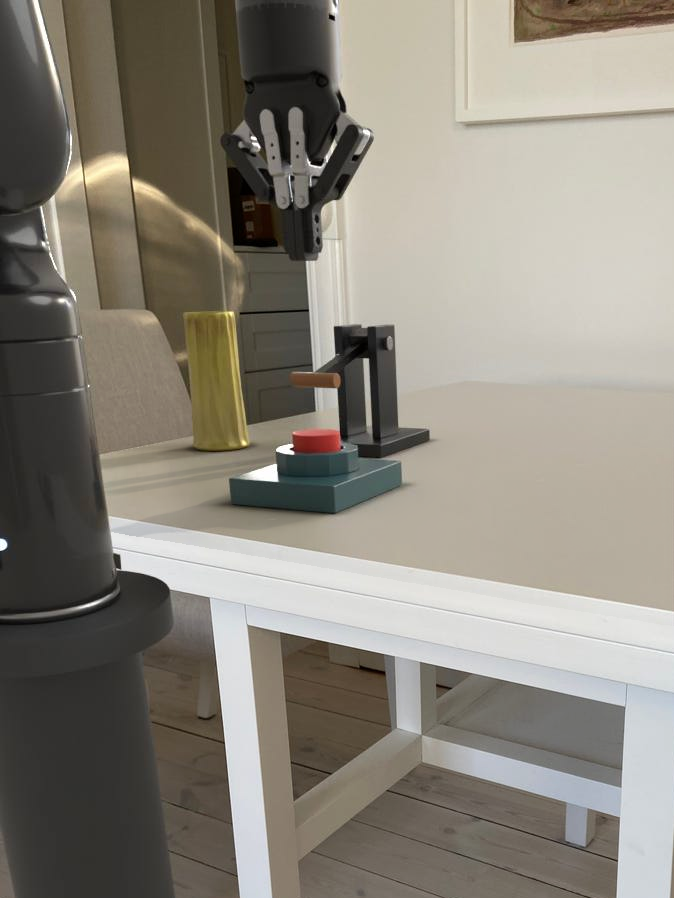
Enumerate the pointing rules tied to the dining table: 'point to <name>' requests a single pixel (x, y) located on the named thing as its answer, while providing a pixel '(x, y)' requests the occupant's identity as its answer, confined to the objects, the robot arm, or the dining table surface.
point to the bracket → (372, 396)
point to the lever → (334, 364)
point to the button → (316, 440)
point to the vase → (215, 381)
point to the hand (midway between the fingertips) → (304, 260)
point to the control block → (316, 480)
